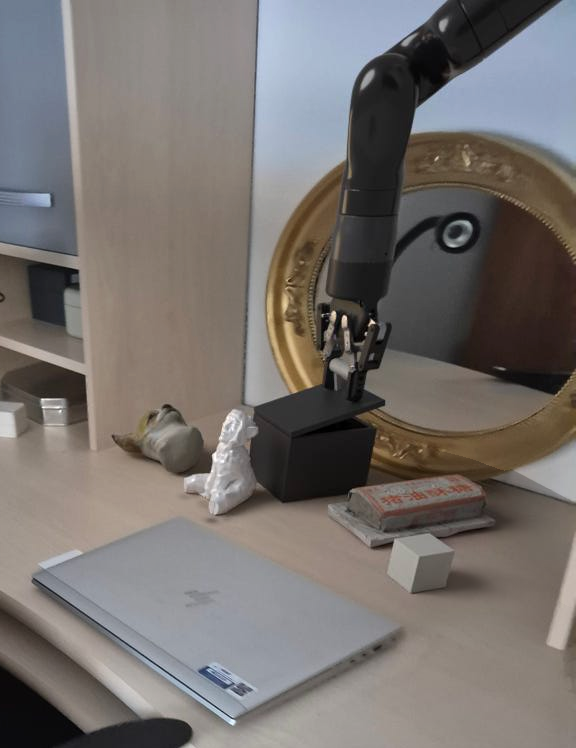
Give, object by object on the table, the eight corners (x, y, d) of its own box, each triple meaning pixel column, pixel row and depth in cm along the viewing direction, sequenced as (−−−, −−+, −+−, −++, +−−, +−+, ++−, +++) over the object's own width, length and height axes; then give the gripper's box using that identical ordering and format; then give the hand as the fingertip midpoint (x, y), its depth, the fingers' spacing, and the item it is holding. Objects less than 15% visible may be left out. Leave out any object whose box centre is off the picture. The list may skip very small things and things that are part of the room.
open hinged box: (325, 463, 122) (334, 403, 117) (365, 491, 114) (377, 428, 109) (247, 473, 119) (253, 412, 114) (282, 502, 111) (290, 438, 106)
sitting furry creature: (179, 489, 114) (184, 403, 108) (233, 480, 117) (241, 394, 111) (213, 517, 107) (221, 426, 100) (270, 506, 110) (282, 416, 103)
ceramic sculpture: (160, 421, 111) (106, 397, 123) (159, 483, 115) (107, 455, 127) (226, 410, 115) (168, 387, 127) (222, 470, 120) (167, 444, 131)
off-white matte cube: (420, 568, 96) (429, 532, 93) (445, 587, 92) (455, 550, 90) (386, 574, 95) (394, 538, 92) (410, 593, 91) (419, 556, 89)
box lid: (341, 382, 116) (340, 347, 113) (385, 405, 108) (385, 368, 105) (254, 412, 114) (250, 377, 111) (291, 438, 106) (288, 400, 103)
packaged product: (451, 464, 109) (504, 493, 101) (443, 498, 112) (494, 529, 104) (330, 480, 105) (376, 513, 97) (324, 515, 107) (368, 550, 99)
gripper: (424, 262, 97) (397, 407, 106) (356, 243, 108) (337, 376, 117) (367, 266, 95) (345, 413, 104) (304, 247, 106) (289, 381, 116)
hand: (341, 393), depth 111 cm, fingers closed on box lid, 5 cm apart
